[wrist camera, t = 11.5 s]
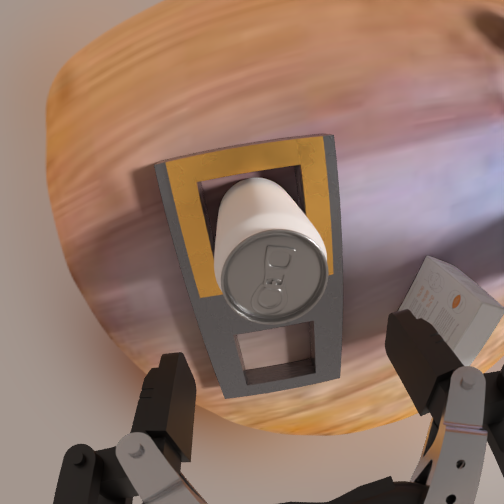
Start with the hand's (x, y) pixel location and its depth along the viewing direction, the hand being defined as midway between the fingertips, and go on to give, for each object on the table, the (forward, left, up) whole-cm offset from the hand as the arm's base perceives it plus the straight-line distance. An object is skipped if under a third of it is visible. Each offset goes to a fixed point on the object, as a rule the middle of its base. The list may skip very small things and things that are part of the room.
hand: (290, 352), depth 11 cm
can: (0, 0, -17) cm, 17 cm away
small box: (-22, -5, -17) cm, 29 cm away
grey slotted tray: (-5, +5, -17) cm, 19 cm away
